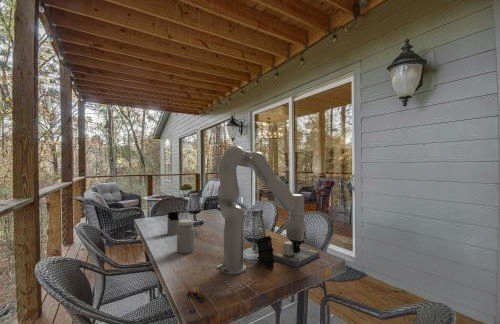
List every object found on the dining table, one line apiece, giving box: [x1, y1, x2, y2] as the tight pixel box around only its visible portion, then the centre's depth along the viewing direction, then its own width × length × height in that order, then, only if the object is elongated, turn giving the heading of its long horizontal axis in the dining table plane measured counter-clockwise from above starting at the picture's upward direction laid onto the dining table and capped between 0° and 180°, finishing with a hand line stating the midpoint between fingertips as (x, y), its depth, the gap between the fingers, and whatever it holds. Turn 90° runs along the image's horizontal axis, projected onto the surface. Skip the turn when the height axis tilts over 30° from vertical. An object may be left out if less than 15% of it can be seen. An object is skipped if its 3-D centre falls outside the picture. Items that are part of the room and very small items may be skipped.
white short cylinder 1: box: [282, 240, 295, 256], centre depth 134 cm, size 4×4×6 cm
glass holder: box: [166, 211, 188, 236], centre depth 183 cm, size 9×14×15 cm, turn 115°
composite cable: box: [186, 286, 206, 304], centre depth 96 cm, size 10×5×2 cm, turn 34°
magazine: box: [255, 235, 276, 270], centre depth 128 cm, size 4×13×15 cm, turn 26°
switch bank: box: [273, 246, 320, 268], centre depth 137 cm, size 22×15×3 cm
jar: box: [176, 218, 195, 255], centre depth 145 cm, size 10×10×18 cm
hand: (296, 252), depth 131 cm, fingers closed
